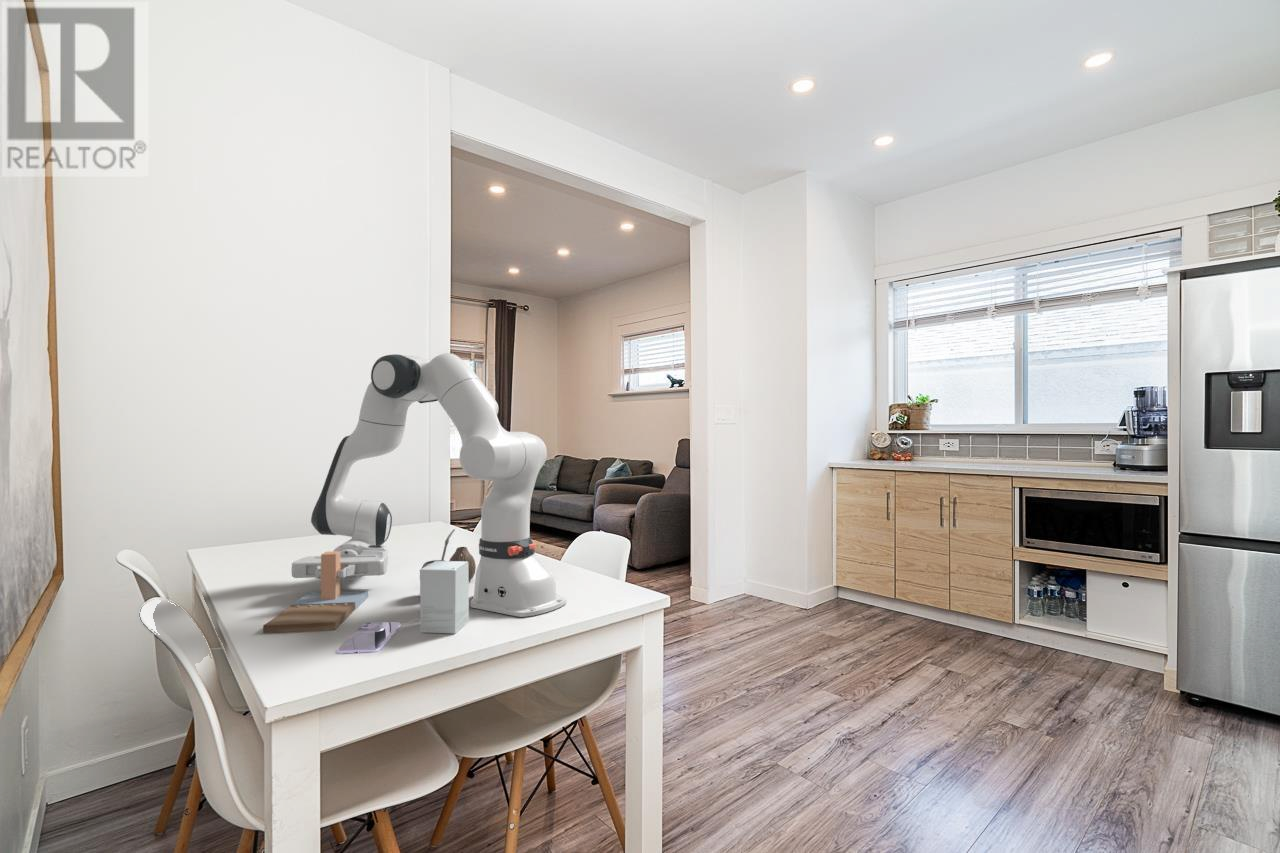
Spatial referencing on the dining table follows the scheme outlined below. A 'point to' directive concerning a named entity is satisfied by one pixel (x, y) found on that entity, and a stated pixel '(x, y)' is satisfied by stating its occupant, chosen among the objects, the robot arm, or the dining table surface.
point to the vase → (465, 559)
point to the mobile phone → (369, 638)
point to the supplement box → (444, 596)
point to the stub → (331, 586)
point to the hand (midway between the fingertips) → (329, 574)
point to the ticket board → (309, 618)
